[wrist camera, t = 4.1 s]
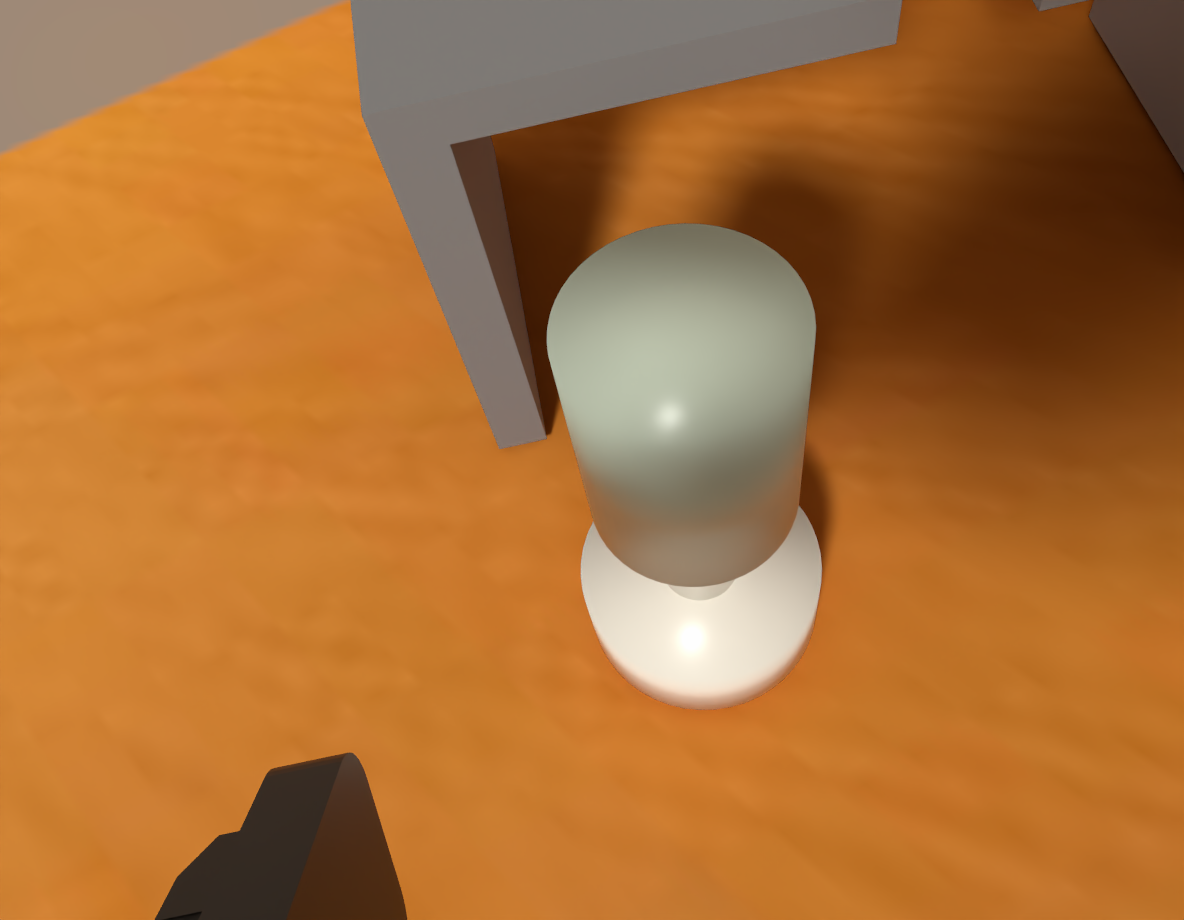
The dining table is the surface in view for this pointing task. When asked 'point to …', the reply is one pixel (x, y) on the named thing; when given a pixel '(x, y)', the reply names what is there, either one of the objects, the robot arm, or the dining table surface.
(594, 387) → the wine glass
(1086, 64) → the dining table surface
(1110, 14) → the slotted rack
